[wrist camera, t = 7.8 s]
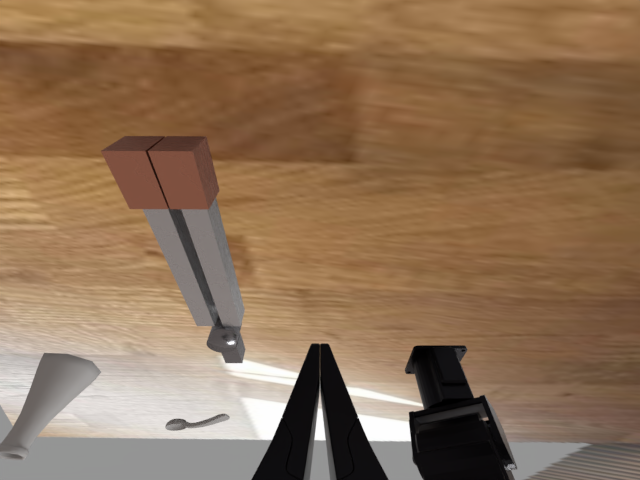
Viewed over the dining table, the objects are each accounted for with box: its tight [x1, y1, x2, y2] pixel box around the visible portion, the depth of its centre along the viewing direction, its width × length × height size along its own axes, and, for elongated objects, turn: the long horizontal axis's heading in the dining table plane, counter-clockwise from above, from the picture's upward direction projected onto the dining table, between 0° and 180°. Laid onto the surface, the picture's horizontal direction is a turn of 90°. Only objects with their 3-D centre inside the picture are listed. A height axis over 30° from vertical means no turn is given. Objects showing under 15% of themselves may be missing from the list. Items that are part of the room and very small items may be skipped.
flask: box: [0, 353, 101, 460], centre depth 34 cm, size 7×7×10 cm
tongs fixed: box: [101, 136, 245, 363], centre depth 25 cm, size 26×4×3 cm, turn 0°
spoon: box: [165, 414, 230, 431], centre depth 49 cm, size 3×12×2 cm, turn 106°
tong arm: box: [148, 136, 245, 353], centre depth 24 cm, size 22×4×3 cm, turn 179°
